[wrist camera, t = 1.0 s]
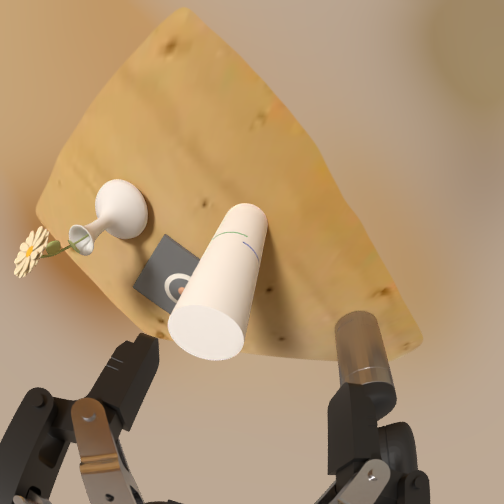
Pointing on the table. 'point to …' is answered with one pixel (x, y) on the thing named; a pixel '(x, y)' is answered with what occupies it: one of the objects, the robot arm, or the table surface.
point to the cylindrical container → (222, 288)
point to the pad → (166, 274)
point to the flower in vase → (91, 225)
